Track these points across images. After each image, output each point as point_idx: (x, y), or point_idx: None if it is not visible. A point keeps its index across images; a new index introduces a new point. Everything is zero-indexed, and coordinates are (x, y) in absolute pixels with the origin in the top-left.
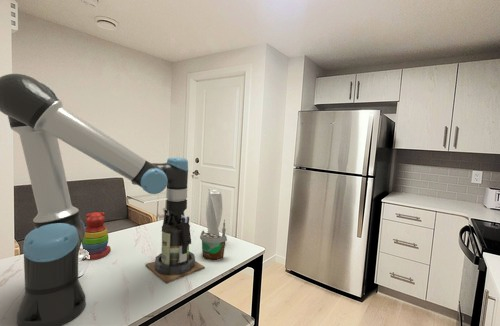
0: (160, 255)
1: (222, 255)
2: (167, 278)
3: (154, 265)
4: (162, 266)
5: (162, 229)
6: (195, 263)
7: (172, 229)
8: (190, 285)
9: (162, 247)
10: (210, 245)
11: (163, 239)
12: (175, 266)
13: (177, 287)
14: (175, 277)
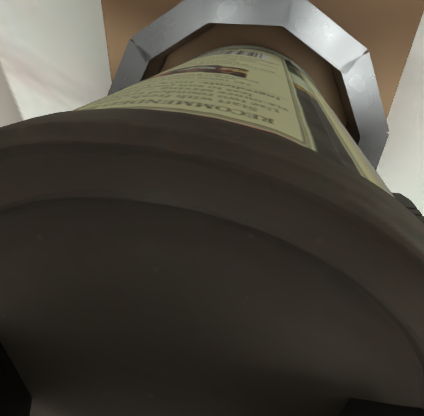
0: (358, 100)
1: None
2: (127, 3)
3: (348, 31)
4: (183, 2)
5: (223, 124)
6: None
7: (21, 280)
8: (30, 79)
9: (254, 64)
10: None
11: (212, 77)
12: (122, 81)
13: (39, 10)
14: (112, 52)
